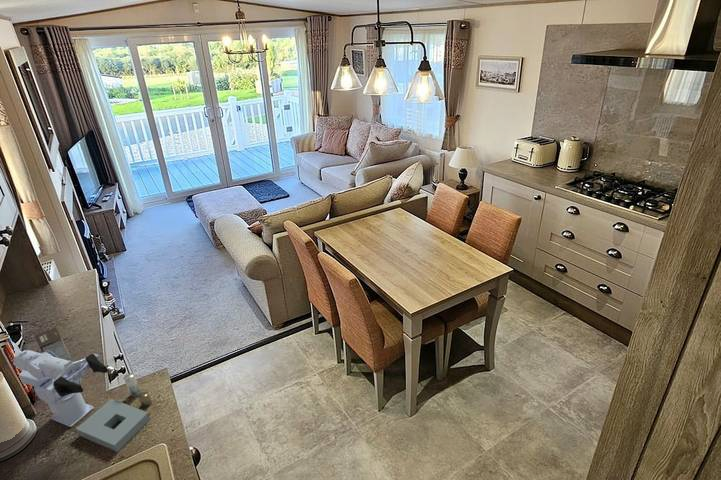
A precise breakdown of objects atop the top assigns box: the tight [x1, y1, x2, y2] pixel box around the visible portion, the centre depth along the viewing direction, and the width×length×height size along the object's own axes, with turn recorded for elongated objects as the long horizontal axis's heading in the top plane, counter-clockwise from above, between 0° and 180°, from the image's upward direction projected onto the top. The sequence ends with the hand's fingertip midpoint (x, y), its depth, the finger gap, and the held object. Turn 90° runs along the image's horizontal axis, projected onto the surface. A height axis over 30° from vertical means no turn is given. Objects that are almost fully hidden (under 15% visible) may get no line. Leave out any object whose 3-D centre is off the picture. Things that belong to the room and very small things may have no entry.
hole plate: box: [75, 398, 152, 453], centre depth 124 cm, size 16×12×3 cm
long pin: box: [123, 372, 142, 398], centre depth 135 cm, size 3×3×8 cm
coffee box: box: [34, 327, 73, 362], centre depth 144 cm, size 9×6×16 cm
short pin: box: [137, 391, 152, 409], centre depth 132 cm, size 3×3×4 cm
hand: (93, 378), depth 114 cm, fingers open, 7 cm apart
